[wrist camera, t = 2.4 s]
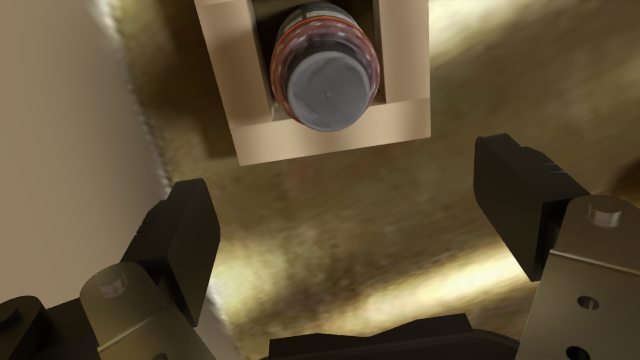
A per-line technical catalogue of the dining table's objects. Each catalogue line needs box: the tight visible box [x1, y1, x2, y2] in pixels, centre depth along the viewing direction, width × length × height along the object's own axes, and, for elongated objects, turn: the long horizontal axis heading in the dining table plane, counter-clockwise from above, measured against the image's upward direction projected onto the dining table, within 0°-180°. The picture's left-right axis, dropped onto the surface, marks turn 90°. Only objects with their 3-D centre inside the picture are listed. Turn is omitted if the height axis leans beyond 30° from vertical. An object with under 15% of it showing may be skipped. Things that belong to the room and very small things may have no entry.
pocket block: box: [194, 0, 431, 166], centre depth 28 cm, size 14×14×3 cm
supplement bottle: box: [270, 1, 380, 132], centre depth 24 cm, size 6×6×11 cm
